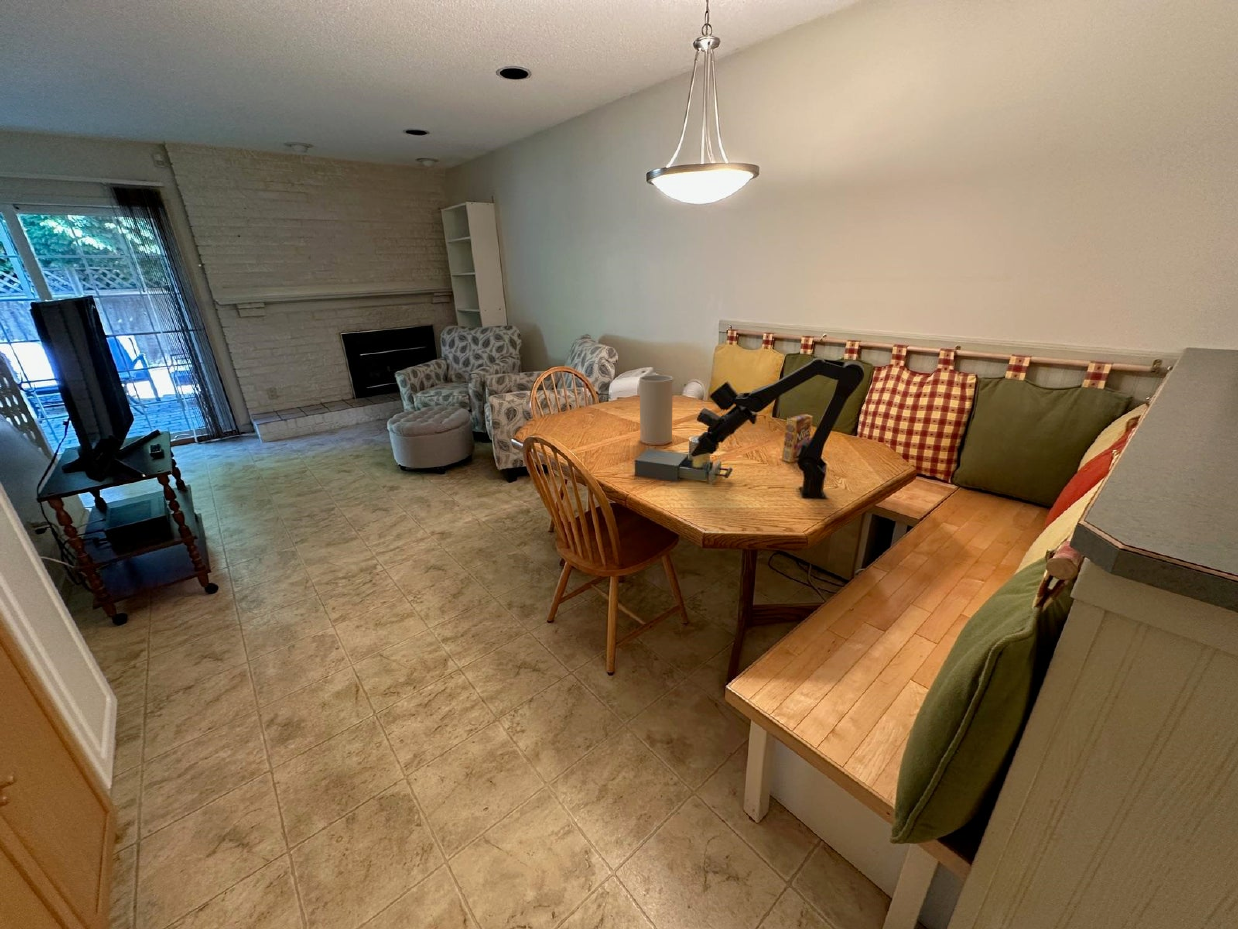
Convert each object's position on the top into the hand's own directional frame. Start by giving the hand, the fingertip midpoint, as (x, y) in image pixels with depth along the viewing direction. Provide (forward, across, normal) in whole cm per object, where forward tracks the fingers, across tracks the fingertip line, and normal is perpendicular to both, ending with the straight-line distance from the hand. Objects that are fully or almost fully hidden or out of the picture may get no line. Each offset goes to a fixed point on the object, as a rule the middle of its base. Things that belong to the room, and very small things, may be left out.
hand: (695, 451), depth 151 cm
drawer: (+4, 0, +7) cm, 8 cm away
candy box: (-13, -28, +26) cm, 41 cm away
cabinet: (+14, 0, -2) cm, 14 cm away
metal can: (+3, 0, +5) cm, 6 cm away
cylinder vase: (+24, -30, -11) cm, 40 cm away
